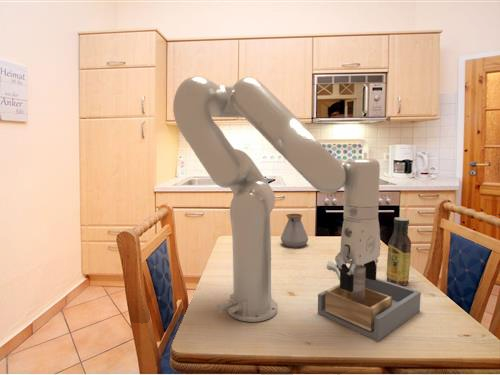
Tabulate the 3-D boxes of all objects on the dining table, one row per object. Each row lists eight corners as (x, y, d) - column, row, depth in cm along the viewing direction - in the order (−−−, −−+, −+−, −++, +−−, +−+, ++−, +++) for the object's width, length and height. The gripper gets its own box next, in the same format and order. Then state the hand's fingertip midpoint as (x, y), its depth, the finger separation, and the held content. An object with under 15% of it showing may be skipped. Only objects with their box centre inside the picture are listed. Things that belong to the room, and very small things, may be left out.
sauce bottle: (382, 278, 104) (385, 216, 102) (401, 278, 104) (404, 215, 102) (392, 287, 98) (395, 220, 95) (413, 286, 98) (417, 220, 96)
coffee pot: (282, 240, 147) (282, 207, 146) (308, 241, 145) (309, 207, 143) (276, 256, 127) (276, 217, 125) (306, 257, 124) (307, 218, 123)
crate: (370, 331, 72) (372, 279, 71) (325, 310, 81) (326, 264, 80) (391, 317, 78) (393, 269, 77) (346, 299, 87) (347, 256, 86)
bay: (378, 341, 71) (379, 319, 70) (317, 313, 83) (318, 294, 82) (419, 311, 84) (420, 291, 83) (362, 290, 96) (362, 273, 95)
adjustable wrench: (357, 297, 93) (357, 290, 93) (333, 295, 94) (333, 289, 94) (344, 265, 118) (344, 260, 117) (325, 264, 118) (325, 259, 118)
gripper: (353, 220, 68) (351, 300, 70) (394, 209, 79) (391, 279, 82) (323, 215, 74) (322, 289, 76) (366, 205, 85) (364, 270, 87)
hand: (358, 284), depth 79 cm, fingers open, 9 cm apart
